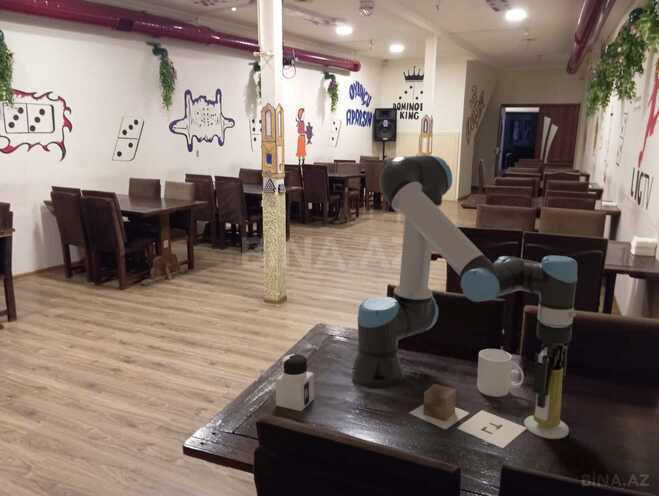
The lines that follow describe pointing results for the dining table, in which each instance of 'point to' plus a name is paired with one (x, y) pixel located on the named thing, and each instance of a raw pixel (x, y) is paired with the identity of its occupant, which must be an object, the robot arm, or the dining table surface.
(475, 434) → the plate
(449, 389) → the walnut block
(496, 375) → the mug
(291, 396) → the container
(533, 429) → the white round coaster
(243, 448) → the dining table surface
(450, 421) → the plate
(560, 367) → the vase
